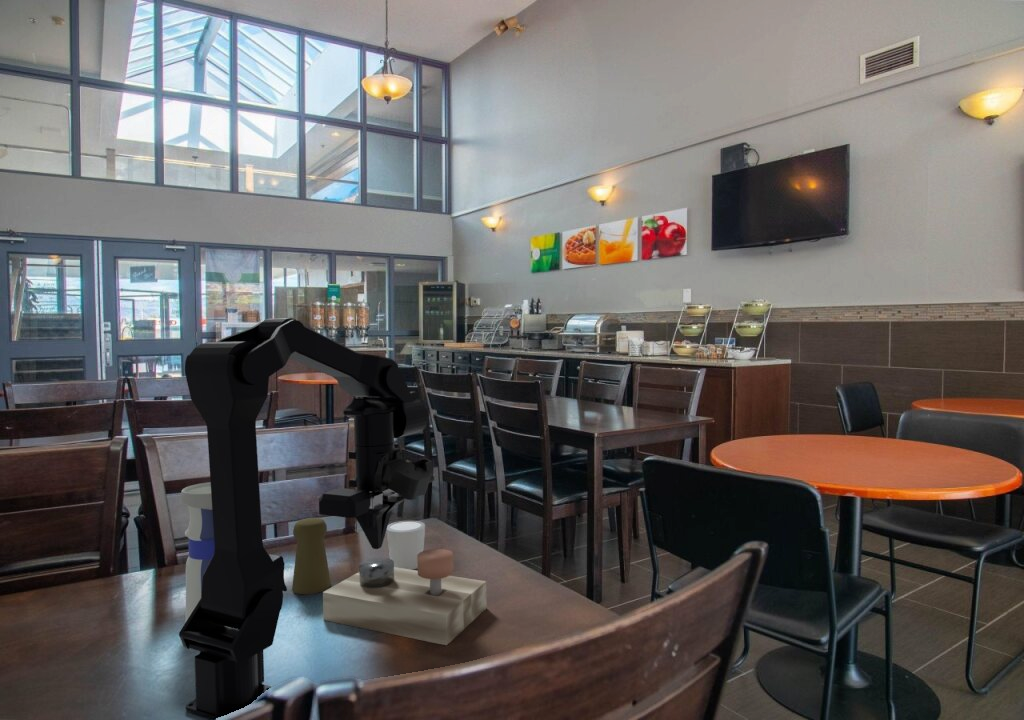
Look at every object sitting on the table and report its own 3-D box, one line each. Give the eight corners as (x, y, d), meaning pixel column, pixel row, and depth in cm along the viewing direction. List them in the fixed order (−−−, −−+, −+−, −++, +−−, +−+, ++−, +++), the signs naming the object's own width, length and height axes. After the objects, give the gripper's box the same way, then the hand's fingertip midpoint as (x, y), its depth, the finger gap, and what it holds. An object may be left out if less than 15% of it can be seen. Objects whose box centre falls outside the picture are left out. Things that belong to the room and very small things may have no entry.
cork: (319, 595, 97) (317, 525, 97) (284, 592, 99) (282, 524, 98) (337, 580, 103) (336, 514, 103) (304, 578, 104) (302, 513, 104)
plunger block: (446, 645, 81) (445, 615, 81) (323, 619, 89) (322, 592, 89) (486, 608, 92) (486, 581, 92) (373, 588, 100) (373, 563, 100)
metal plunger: (381, 615, 89) (380, 571, 89) (353, 609, 91) (352, 567, 91) (401, 601, 94) (400, 560, 93) (373, 596, 96) (372, 556, 95)
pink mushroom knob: (442, 608, 85) (441, 563, 85) (411, 603, 87) (410, 558, 87) (459, 594, 89) (459, 551, 89) (429, 589, 91) (429, 547, 91)
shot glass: (382, 561, 112) (381, 523, 112) (419, 555, 115) (418, 517, 115) (392, 574, 106) (391, 533, 105) (431, 567, 109) (430, 527, 108)
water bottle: (249, 604, 94) (244, 440, 93) (247, 629, 86) (241, 449, 85) (188, 614, 91) (182, 444, 90) (180, 640, 83) (173, 454, 82)
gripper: (383, 458, 80) (385, 578, 80) (453, 436, 97) (455, 535, 97) (314, 453, 84) (317, 567, 85) (392, 433, 101) (395, 527, 102)
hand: (376, 548), depth 92 cm, fingers closed
